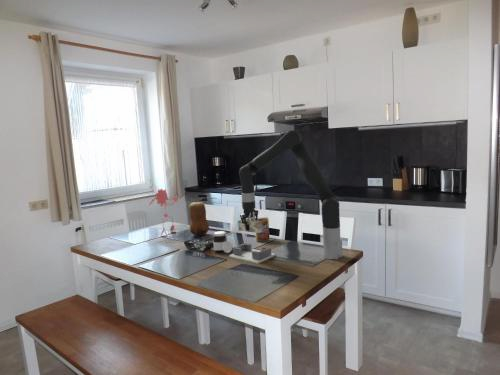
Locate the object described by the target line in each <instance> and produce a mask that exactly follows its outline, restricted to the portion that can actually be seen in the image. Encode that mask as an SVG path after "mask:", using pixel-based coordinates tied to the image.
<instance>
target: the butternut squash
mask: <svg viewBox="0 0 500 375" xmlns="http://www.w3.org/2000/svg"><path fill="white" fill-rule="evenodd" d="M188 209H189V210H188V211H189V218H190V224H189V229H190V233H191V234H193V235H194V236H199V237H203V236H205V235H206V234H207V233H208V232H209V231H210V224H209V222H208V220H207V209H206V205H205V203H204V202H202V201H199V202H197V201H195V202H191V203H190V204H189V207H188Z"/></svg>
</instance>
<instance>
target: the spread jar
mask: <svg viewBox="0 0 500 375" xmlns="http://www.w3.org/2000/svg"><path fill="white" fill-rule="evenodd" d="M213 234H214V235H213V236H214V237H213V242H212V244H213V249H214V250H213V251H214V252H215V253H226V254H229V253H231V252H232V251H233V248H232V247H233V246H232V244H231V242H229V241H228V237H227V235H226V231H223V230H222V231H220V230H219V231H215V232H214V233H213Z"/></svg>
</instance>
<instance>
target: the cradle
mask: <svg viewBox="0 0 500 375" xmlns="http://www.w3.org/2000/svg"><path fill="white" fill-rule="evenodd" d="M252 246H253V245H252V243H247V242H245V243H242V244H239V245H236V246H234V247H233V248H232V253H231V254H229V255H228V257H229V258H232V259H235V260H240V261H244V262H248V263H253V264H255V265H257V264H261V263H262V262H265V261H267V260H268V259H271V258H273V257H275V256H276V253H274V252H272V248H271V247H267V246H262V247H261V249H262V250H258V249H254V248H252Z"/></svg>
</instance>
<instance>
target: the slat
mask: <svg viewBox="0 0 500 375" xmlns="http://www.w3.org/2000/svg"><path fill="white" fill-rule="evenodd" d="M246 222H247V221H246ZM237 226H238V231H239V232H247V233H260V232H262V221H256V220H251V219H250V220H249V231H246V229H245V224H242V221H241V219H239V220H237Z"/></svg>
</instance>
